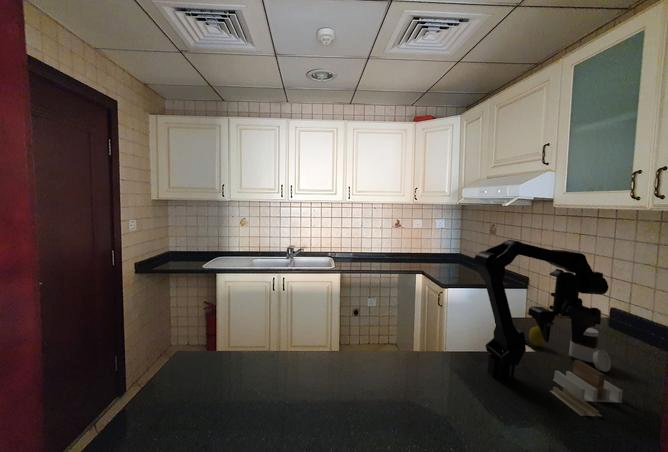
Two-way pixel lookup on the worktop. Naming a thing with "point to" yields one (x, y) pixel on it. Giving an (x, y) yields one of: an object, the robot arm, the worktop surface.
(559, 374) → the rack
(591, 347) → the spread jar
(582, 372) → the board
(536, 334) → the lemon
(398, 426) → the worktop surface
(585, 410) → the stand
